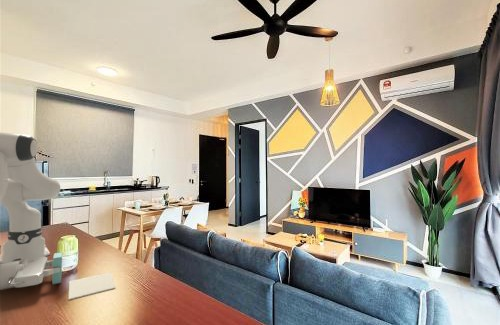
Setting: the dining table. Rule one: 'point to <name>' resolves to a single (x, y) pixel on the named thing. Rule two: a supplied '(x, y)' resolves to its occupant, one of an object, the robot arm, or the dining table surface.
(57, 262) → the slab
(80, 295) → the mat
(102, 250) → the dining table surface
